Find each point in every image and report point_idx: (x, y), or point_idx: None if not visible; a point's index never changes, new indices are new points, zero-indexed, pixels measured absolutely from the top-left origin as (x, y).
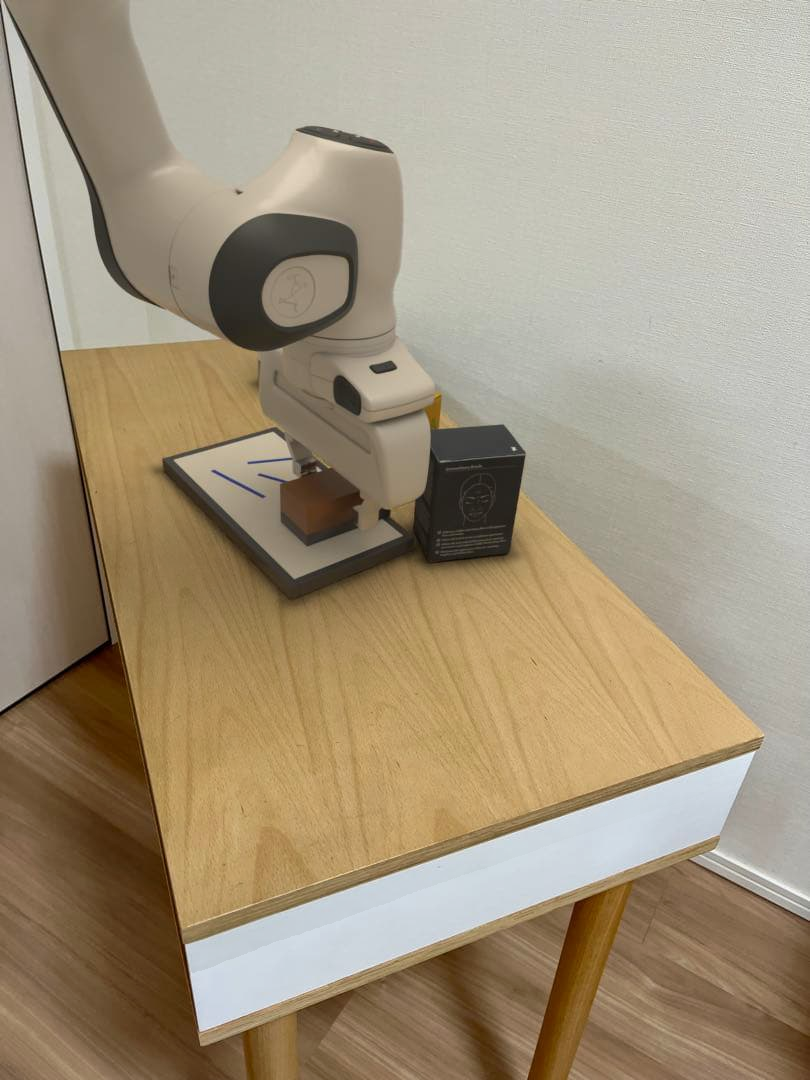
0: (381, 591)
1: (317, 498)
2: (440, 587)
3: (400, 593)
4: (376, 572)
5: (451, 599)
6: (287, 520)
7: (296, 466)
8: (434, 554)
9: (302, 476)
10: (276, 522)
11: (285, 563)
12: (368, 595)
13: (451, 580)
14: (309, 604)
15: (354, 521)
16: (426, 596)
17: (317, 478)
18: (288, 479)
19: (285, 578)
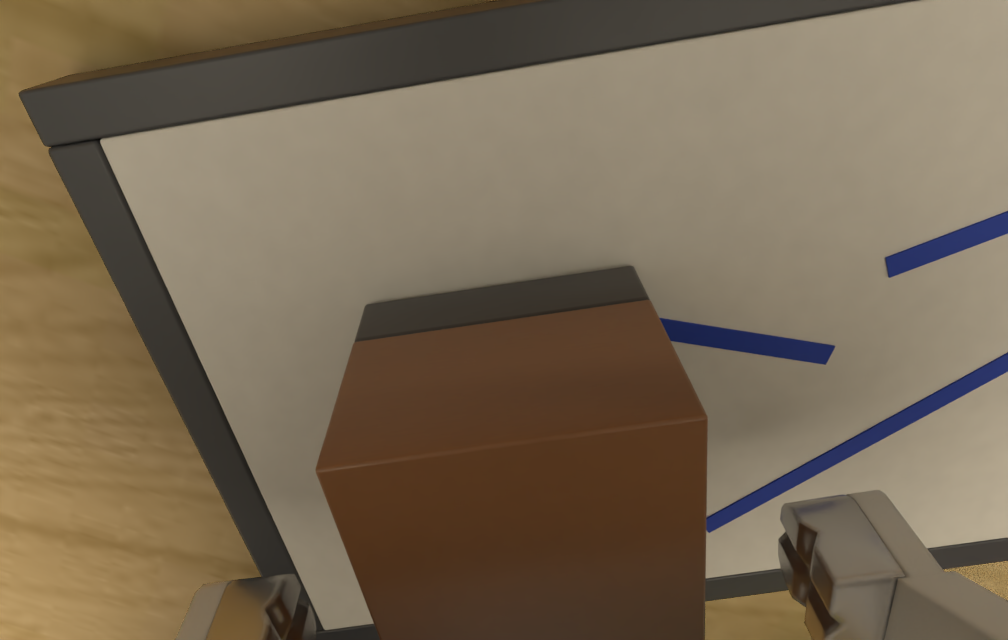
0: (87, 440)
1: (413, 552)
2: (81, 594)
3: (64, 488)
4: None
5: (9, 597)
6: (563, 299)
7: (872, 547)
8: None
9: (794, 524)
10: (639, 242)
11: (253, 148)
12: (67, 392)
13: (115, 629)
14: (31, 149)
15: (252, 592)
16: (35, 547)
17: (637, 614)
18: (942, 420)
19: (110, 94)
